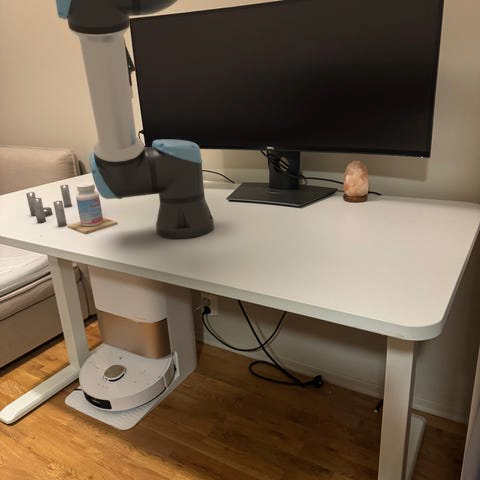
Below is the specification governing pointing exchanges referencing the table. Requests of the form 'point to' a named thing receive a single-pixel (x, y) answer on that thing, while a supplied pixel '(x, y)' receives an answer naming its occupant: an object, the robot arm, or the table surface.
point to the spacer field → (38, 210)
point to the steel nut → (48, 211)
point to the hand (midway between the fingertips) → (115, 98)
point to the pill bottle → (89, 205)
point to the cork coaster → (90, 229)
